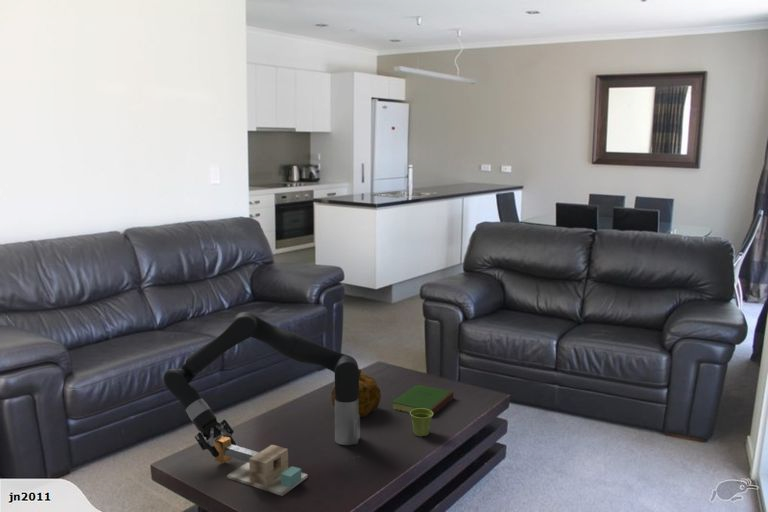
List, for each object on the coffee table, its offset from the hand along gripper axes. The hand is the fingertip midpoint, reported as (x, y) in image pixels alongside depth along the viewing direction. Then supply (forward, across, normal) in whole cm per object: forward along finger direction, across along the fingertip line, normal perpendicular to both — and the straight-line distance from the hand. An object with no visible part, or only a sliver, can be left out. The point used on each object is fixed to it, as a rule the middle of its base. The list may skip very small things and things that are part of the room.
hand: (226, 451), depth 228 cm
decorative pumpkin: (+15, +63, -8) cm, 65 cm away
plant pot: (+39, +58, -31) cm, 76 cm away
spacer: (+21, 0, -18) cm, 27 cm away
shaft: (+8, 0, -3) cm, 9 cm away
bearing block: (+17, 0, -10) cm, 20 cm away
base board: (+17, 0, -10) cm, 20 cm away
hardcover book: (+30, +86, -22) cm, 94 cm away
